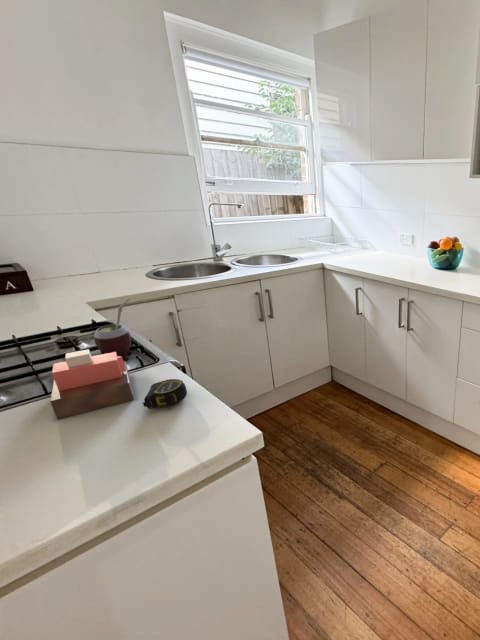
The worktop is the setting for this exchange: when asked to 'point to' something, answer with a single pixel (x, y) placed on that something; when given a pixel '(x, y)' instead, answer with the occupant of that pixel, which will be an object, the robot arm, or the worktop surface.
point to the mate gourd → (114, 338)
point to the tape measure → (165, 394)
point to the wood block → (91, 396)
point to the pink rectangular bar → (86, 369)
